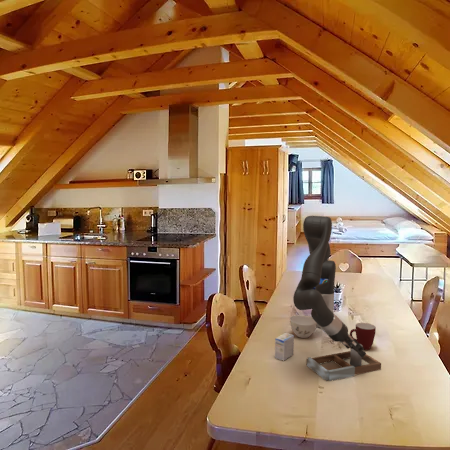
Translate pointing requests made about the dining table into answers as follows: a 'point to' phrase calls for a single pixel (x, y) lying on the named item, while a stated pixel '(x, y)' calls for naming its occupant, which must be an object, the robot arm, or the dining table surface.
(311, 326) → the teacup
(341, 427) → the dining table surface
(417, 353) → the dining table surface
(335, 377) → the divider rack
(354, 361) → the grey dome-topped cylinder
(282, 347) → the medicine box
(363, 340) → the mug
